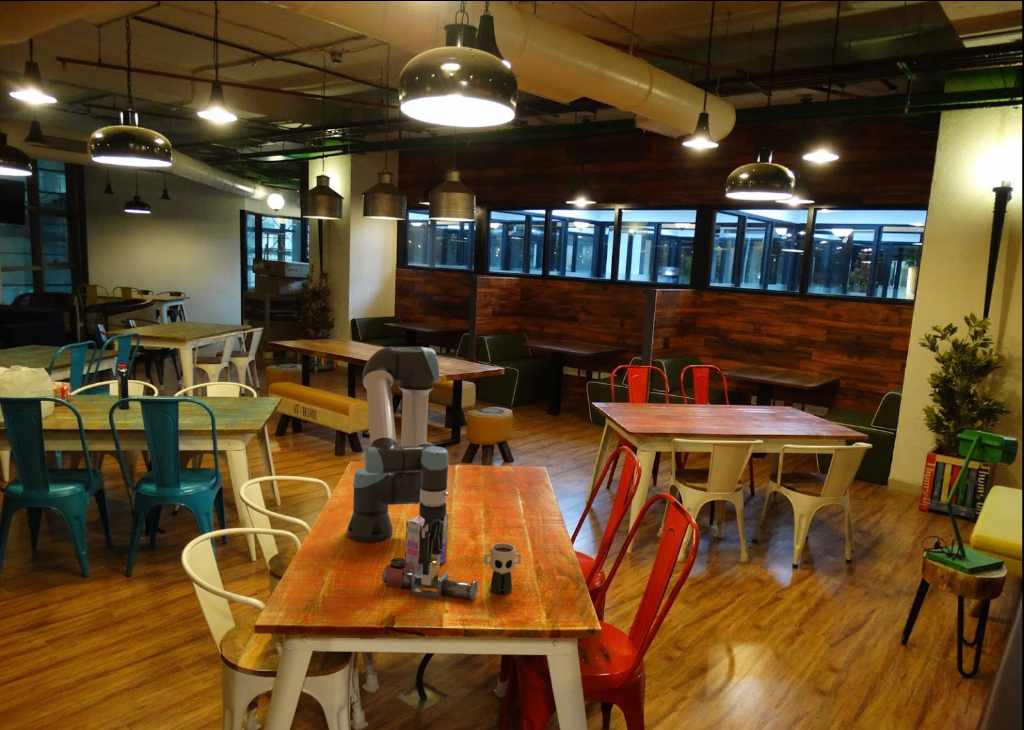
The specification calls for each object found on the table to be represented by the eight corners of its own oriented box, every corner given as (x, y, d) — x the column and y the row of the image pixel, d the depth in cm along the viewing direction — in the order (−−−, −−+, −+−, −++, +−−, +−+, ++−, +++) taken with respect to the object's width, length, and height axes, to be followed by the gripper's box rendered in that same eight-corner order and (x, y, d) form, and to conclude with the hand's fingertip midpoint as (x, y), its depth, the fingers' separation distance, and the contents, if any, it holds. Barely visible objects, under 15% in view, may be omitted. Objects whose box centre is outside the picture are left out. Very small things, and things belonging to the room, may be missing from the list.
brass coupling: (418, 586, 198) (419, 563, 197) (425, 578, 203) (426, 556, 202) (434, 589, 197) (435, 566, 196) (441, 581, 202) (442, 559, 201)
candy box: (418, 577, 208) (420, 524, 206) (403, 571, 211) (405, 520, 209) (446, 561, 220) (449, 511, 217) (432, 556, 223) (434, 507, 221)
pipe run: (379, 589, 200) (379, 565, 199) (392, 575, 208) (393, 553, 207) (469, 606, 193) (470, 581, 192) (479, 591, 201) (481, 568, 200)
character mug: (483, 596, 199) (485, 552, 197) (481, 584, 206) (483, 542, 204) (521, 595, 201) (523, 552, 199) (517, 584, 207) (520, 542, 206)
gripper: (433, 515, 187) (430, 596, 191) (456, 494, 204) (453, 569, 208) (407, 510, 189) (405, 591, 192) (432, 490, 206) (429, 565, 210)
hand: (430, 579), depth 200 cm, fingers closed on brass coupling, 5 cm apart
